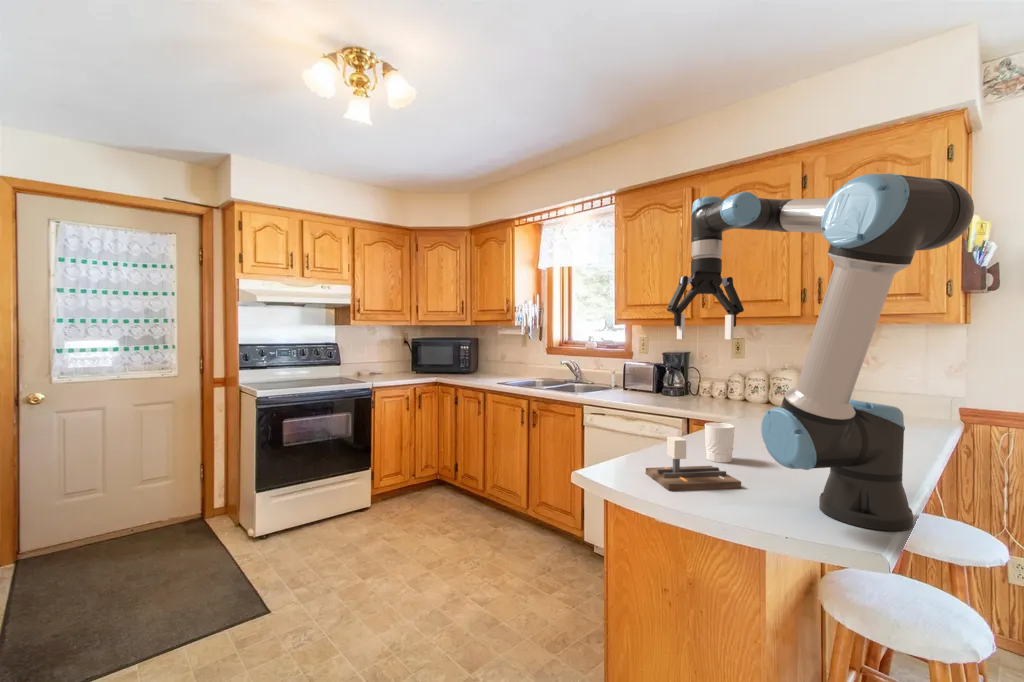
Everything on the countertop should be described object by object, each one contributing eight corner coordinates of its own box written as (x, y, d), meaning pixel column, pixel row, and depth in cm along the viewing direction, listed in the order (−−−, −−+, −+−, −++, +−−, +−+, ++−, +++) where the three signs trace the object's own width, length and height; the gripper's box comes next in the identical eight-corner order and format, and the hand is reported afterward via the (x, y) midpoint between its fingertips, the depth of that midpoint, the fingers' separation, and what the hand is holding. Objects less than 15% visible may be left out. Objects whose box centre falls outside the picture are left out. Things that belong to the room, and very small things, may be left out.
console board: (741, 487, 112) (741, 477, 112) (668, 490, 110) (668, 479, 110) (711, 471, 125) (711, 462, 125) (645, 473, 123) (645, 464, 122)
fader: (685, 475, 115) (686, 440, 115) (674, 475, 114) (674, 440, 114) (678, 470, 119) (678, 436, 119) (666, 470, 118) (667, 436, 118)
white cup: (728, 456, 140) (728, 422, 140) (738, 464, 132) (739, 428, 132) (700, 455, 141) (701, 422, 140) (708, 463, 133) (709, 427, 133)
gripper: (741, 261, 130) (740, 339, 131) (655, 259, 127) (653, 338, 127) (759, 257, 123) (757, 339, 123) (667, 255, 119) (666, 339, 120)
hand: (704, 339), depth 125 cm, fingers open, 13 cm apart
